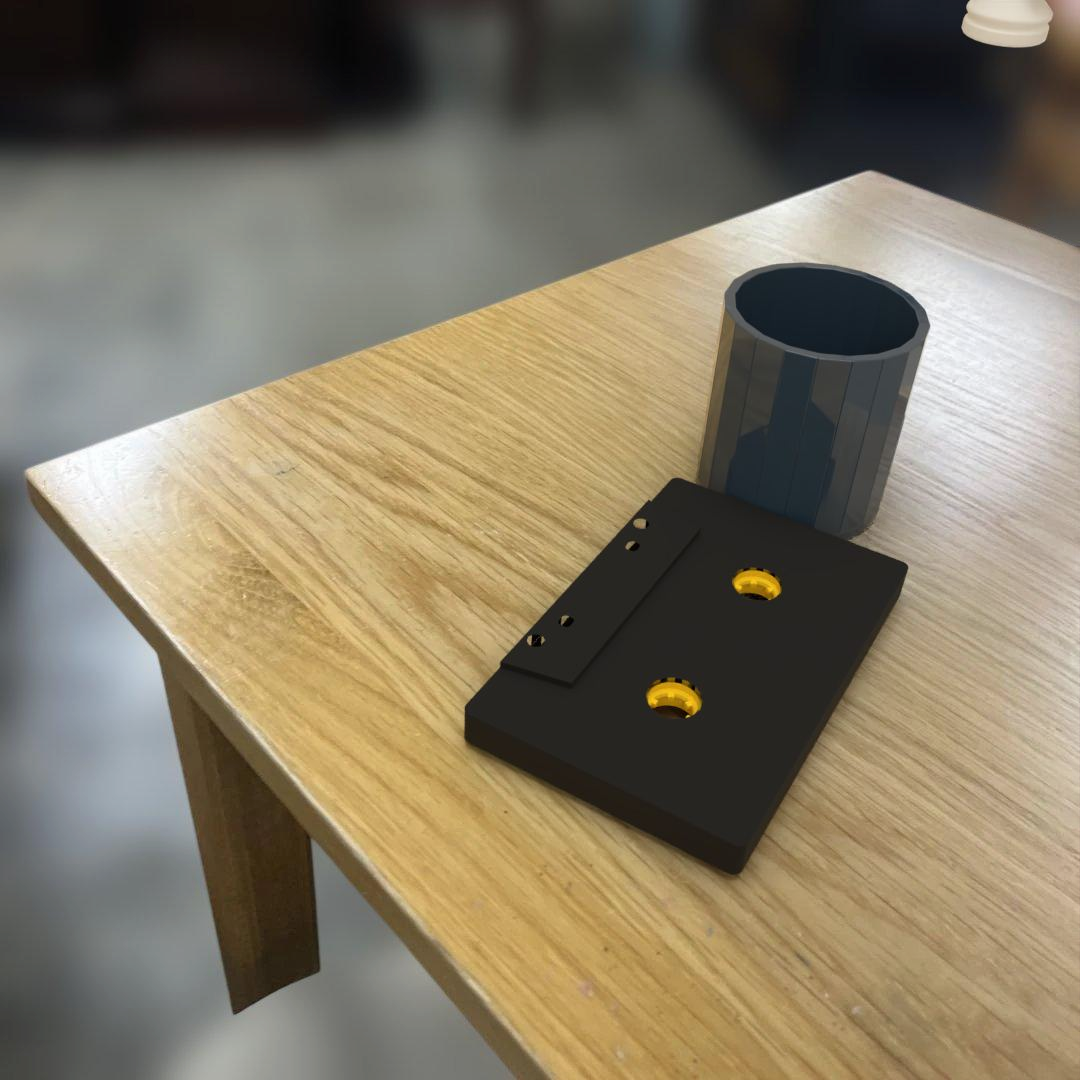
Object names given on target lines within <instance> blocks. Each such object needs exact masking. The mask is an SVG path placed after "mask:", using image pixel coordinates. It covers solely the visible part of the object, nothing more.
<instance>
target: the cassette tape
mask: <svg viewBox="0 0 1080 1080" xmlns="http://www.w3.org/2000/svg"><path fill="white" fill-rule="evenodd" d="M636 520H645V526H644V528H642V527H637V526H636V525H635V524H634V523H635V521H636ZM631 542H634V543H633V544H632V545H631V546H630V547H629V548H627V547H626V546H628V544H629V543H631ZM908 571H909V565H908V564H907V563H906V562H905V561H903V560H900V559H897V558H895V557H892V556H890V555H886V554H884V553H881V552H879V551H877V550H873V549H870V548H869V547H865V546H863V545H860V544H857V543H855V542H852V541H849V540H848V539H847V540H844V539H841V538H839V537H836V536H833V535H831V534H828V533H825V532H823V531H820V530H817V529H815V528H812V527H809V526H807V525H804V524H801V523H799V522H796V521H793V520H791V519H788V518H785V517H783V516H780V515H777V514H775V513H772V512H769V511H767V510H764V509H762V508H759V507H756V506H754V505H751V504H748V503H746V502H743V501H740V500H738V499H735V498H732V497H730V496H727V495H724V494H722V493H719V492H716V491H714V490H711V489H708V488H706V487H703V486H700V485H698V484H697V483H695V482H692V481H689V480H687V479H685V478H681V477H672V478H671V479H669V481H668V482H667V483H666V484H665V486H663V488H662V489H660V491H659V492H658V493H657V494H656V495H655V496H654V497H653V499H652V500H650V499H648V500H646V502H645V503H644V504H643V505H642V506H641V507H640V509H639V510H637V512H636V513H634V515H633V516H632V517H631V518H630V519H629V520H628V522H627V523H626V524H625V525H624V526H623V527H622V528H621V529H620V530H619V531H618V532H617V533H616V535H615V536H614V537H613V538H612V539H611V540H610V541H609V542H608V543H607V545H606V546H604V547H603V548H602V550H601V551H600V552H599V553H598V554H597V555H596V556H595V558H594V559H592V561H591V562H590V563H589V564H588V565H587V566H586V567H585V569H584V570H582V571H581V572H580V574H579V575H578V576H577V577H576V578H575V579H574V580H573V581H572V583H570V585H569V586H568V587H567V588H566V589H565V590H564V591H563V593H561V594H560V596H559V597H558V598H557V599H556V600H555V601H554V602H553V603H552V604H551V606H549V608H548V609H547V610H546V611H545V612H544V613H543V614H542V616H540V618H539V619H538V620H537V621H536V622H535V623H534V624H533V625H532V626H531V627H530V629H528V631H527V632H526V633H525V634H524V635H523V636H522V637H521V638H520V639H519V640H518V642H516V644H515V645H514V646H513V647H512V648H511V649H510V650H509V651H508V653H506V655H505V656H504V657H503V658H502V659H501V660H500V662H499V664H500V665H499V668H498V669H497V670H496V671H495V672H494V673H493V674H492V675H491V676H490V677H489V678H488V680H487V681H486V682H484V684H483V685H482V686H481V687H480V688H479V689H478V691H477V692H476V693H475V694H474V695H473V696H472V697H471V698H470V699H469V700H468V702H466V704H465V705H464V717H463V718H464V720H463V721H464V725H463V726H464V730H463V732H464V734H463V737H464V738H463V739H464V740H465V742H466V743H468V744H470V745H471V746H473V747H475V748H478V749H479V750H482V751H484V752H486V753H488V754H490V755H492V756H493V757H495V758H498V759H499V760H502V761H503V762H506V763H508V764H510V765H512V766H513V767H515V768H518V769H519V770H522V771H524V772H525V773H527V774H529V775H531V776H533V777H536V778H538V779H540V780H541V781H543V782H545V783H547V784H549V785H552V786H554V787H555V788H557V789H559V790H561V791H564V792H565V793H568V794H569V795H572V796H574V797H575V798H577V799H579V800H581V801H583V802H584V803H587V804H589V805H591V806H593V807H595V808H596V809H599V810H601V811H603V812H605V813H608V814H609V815H610V816H613V817H615V818H617V819H619V820H621V821H623V822H625V823H627V824H629V825H631V826H633V827H635V828H637V829H638V830H641V831H643V832H644V833H646V834H649V835H651V836H652V837H655V838H657V839H659V840H661V841H662V842H666V843H667V844H669V845H671V846H672V847H675V848H677V849H679V850H681V851H683V852H685V853H687V854H689V855H690V856H693V857H695V858H697V859H699V860H701V861H703V862H705V863H706V864H709V865H710V866H712V867H715V868H717V869H719V870H720V871H722V872H724V873H726V874H729V875H734V876H736V875H739V874H741V872H743V870H744V868H745V866H746V865H747V863H748V861H749V859H750V858H751V856H752V854H753V852H754V851H755V849H756V847H757V846H758V844H759V842H760V841H761V839H762V837H763V835H764V833H765V831H766V830H767V828H768V826H769V824H770V822H771V821H772V819H773V818H774V816H775V814H776V813H777V811H778V809H779V807H780V806H781V804H782V802H783V800H784V799H785V797H786V795H787V794H788V791H789V790H790V788H791V786H792V784H793V783H794V782H795V779H796V778H797V776H798V774H799V773H800V771H801V769H802V768H803V766H804V764H805V762H806V760H807V759H808V757H809V755H810V754H811V751H812V750H813V748H814V746H815V744H816V743H817V741H818V740H819V738H820V736H821V734H822V732H823V731H824V730H825V727H826V725H827V724H828V722H829V720H830V719H831V717H832V715H833V714H834V711H835V710H836V708H837V706H838V704H839V703H840V701H841V699H842V698H843V696H844V694H845V692H846V691H847V689H848V688H849V685H850V684H851V682H852V680H853V678H854V677H855V675H856V673H857V671H858V670H859V668H860V666H861V665H862V663H863V661H864V660H865V657H867V654H868V653H869V650H870V649H871V647H872V646H873V644H874V641H875V640H876V638H877V637H878V635H879V634H880V632H881V630H882V628H883V626H884V625H885V623H886V621H887V619H888V617H889V616H890V614H891V613H892V611H893V609H894V607H895V606H896V604H897V601H898V600H899V598H900V596H901V595H902V594H901V593H902V590H903V587H904V584H905V581H906V577H907V574H908ZM746 596H753V597H758V598H762V599H763V600H759V599H758V600H757V599H753V598H749V597H746ZM563 617H567V618H566V619H565V620H564V621H563ZM562 621H563V622H562ZM529 637H530V639H531V640H530V644H529V642H528V640H529ZM542 638H543V639H542ZM542 640H544V641H542ZM659 707H674V708H676V709H680V710H682V711H684V712H686V713H687V715H686V716H685V717H684V718H672V717H669V716H665V715H662V714H660V713H659V712H657V711H656V710H654V709H657V708H659Z"/></svg>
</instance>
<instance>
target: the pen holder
mask: <svg viewBox="0 0 1080 1080" xmlns="http://www.w3.org/2000/svg"><path fill="white" fill-rule="evenodd" d="M930 330H931V322H930V319H929V316H928V313H927V311H926V309H925V307H924V306H923V305H921V303H920V302H919V301H918V300H917V299H916V298H915V297H914V296H913V295H912V294H911V293H909V292H908V291H906V290H904V289H903V288H901V287H899V286H898V285H896V284H894V283H893V282H891V281H889V280H887V279H884V278H881V277H878V276H876V275H873V274H871V273H868V272H865V271H862V270H858V269H854V268H849V267H844V266H841V265H836V264H827V263H819V262H815V263H814V262H801V261H799V262H785V263H784V262H783V263H782V262H781V263H773V264H769V265H765V266H761V267H756V268H753V269H750V270H748V271H746V272H745V273H743V274H741V275H739V276H737V277H736V278H734V279H733V280H732V281H731V283H730V284H729V286H728V287H727V289H726V290H725V291H724V294H723V299H722V306H721V312H720V319H719V325H718V331H717V338H716V344H715V349H714V350H715V351H714V356H713V364H712V370H711V376H710V383H709V389H708V396H707V402H706V407H705V413H704V420H703V426H702V427H703V428H702V434H701V440H700V447H699V453H698V459H697V470H696V480H695V481H696V484H698V485H700V486H703V487H706V488H708V489H711V490H714V491H716V492H719V493H722V494H724V495H727V496H730V497H732V498H735V499H738V500H740V501H743V502H746V503H748V504H751V505H754V506H756V507H759V508H762V509H764V510H767V511H769V512H772V513H775V514H777V515H780V516H783V517H785V518H788V519H791V520H793V521H796V522H799V523H801V524H804V525H807V526H809V527H812V528H815V529H817V530H820V531H823V532H825V533H828V534H831V535H833V536H836V537H839V538H841V539H844V540H847V541H848V540H850V539H852V538H855V537H856V536H858V535H860V534H861V533H864V531H866V530H867V529H868V528H869V527H870V526H871V525H872V523H874V521H875V520H876V518H877V516H878V514H879V510H880V506H881V503H882V500H883V498H884V495H885V491H886V488H887V484H888V480H889V477H890V473H891V470H892V467H893V466H892V465H893V462H894V458H895V455H896V451H897V448H898V445H899V442H900V441H899V440H900V437H901V433H902V430H903V426H904V423H905V419H906V416H907V412H908V408H909V406H910V401H911V398H912V395H913V391H914V387H915V384H916V380H917V377H918V373H919V370H920V365H921V363H922V359H923V355H924V351H925V348H926V344H927V340H928V337H929V334H930Z"/></svg>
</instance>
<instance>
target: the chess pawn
mask: <svg viewBox="0 0 1080 1080" xmlns="http://www.w3.org/2000/svg"><path fill="white" fill-rule="evenodd" d="M966 11H967V12H966V14H965V15H964V17H963V20H962V24H961V30H962V33H963V34H964V35H965V36H966V37H968V38H970V39H972V40H974V41H976V42H980V43H983V44H987V45H991V46H997V47H1005V48H1031V47H1035V46H1039V45H1041V44H1043V43H1044V42H1045V41H1046V40H1047V38H1048V34H1049V32H1050V30H1049V29H1050V25H1049V23H1050V22H1051V21H1052V20H1053V17H1054V12H1053V10H1052V9H1051V7H1050V5H1049V4H1048V2H1047V1H1046V0H969V1H968V2H967V4H966Z"/></svg>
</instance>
